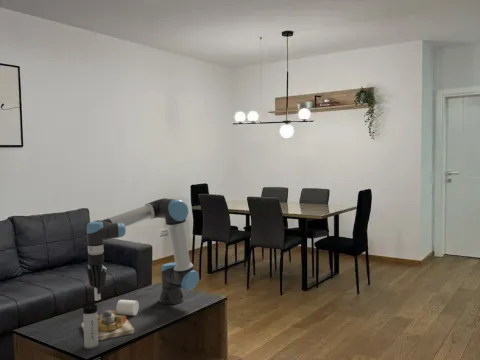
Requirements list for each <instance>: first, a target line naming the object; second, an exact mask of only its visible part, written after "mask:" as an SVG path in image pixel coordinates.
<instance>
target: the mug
mask: <svg viewBox="0 0 480 360" xmlns="http://www.w3.org/2000/svg"><path fill="white" fill-rule="evenodd" d="M139 309H140V305H139V301H138V300H131V299H130V300H129V299H119V300H118V302H117V304H116V307H115V310H116V315H124V316H137V315H138V312H139Z"/></svg>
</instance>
